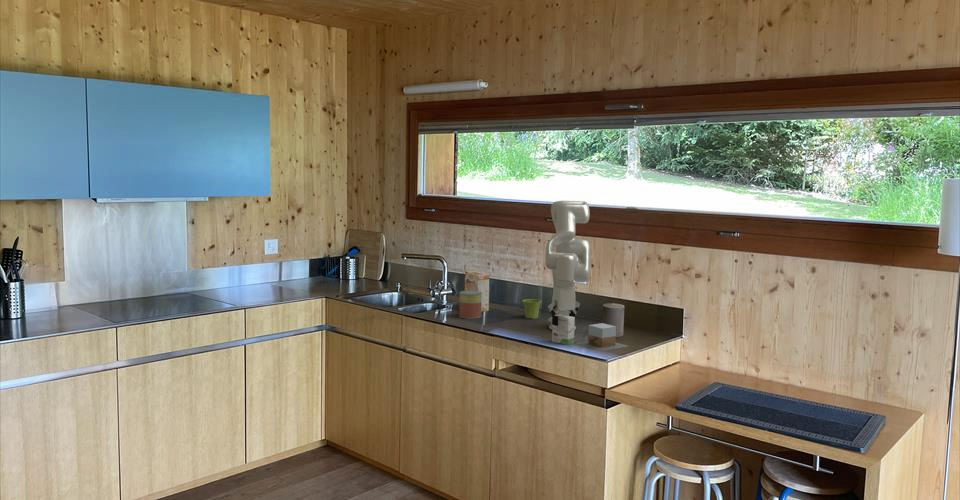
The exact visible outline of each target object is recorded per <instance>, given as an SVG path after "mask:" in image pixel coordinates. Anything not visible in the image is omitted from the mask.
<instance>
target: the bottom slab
mask: <svg viewBox="0 0 960 500" xmlns="http://www.w3.org/2000/svg"><path fill="white" fill-rule="evenodd" d="M587 337H588V339H587V341H588V344H591V345H594V346H598V347H601V348H603V347H609V346H614V345H615V343H617V341H616V339H617V337H616V336H612V337H607V338H600V337H596V336H592V335H589V334H588V336H587Z"/></svg>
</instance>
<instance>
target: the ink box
mask: <svg viewBox="0 0 960 500" xmlns="http://www.w3.org/2000/svg"><path fill="white" fill-rule="evenodd" d="M557 316H558V326H556V325H553V326H552V333H551V334H552V335H551V342H553V343H557V344H562V345H566V346H567V345H572V344H574V343H575V330H574V325H575V326H576V316H575V317H571V316H566V315H561V314H559V315H557Z"/></svg>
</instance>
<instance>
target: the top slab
mask: <svg viewBox="0 0 960 500" xmlns="http://www.w3.org/2000/svg"><path fill="white" fill-rule="evenodd" d="M588 335H592V336H596V337H600V338H607V337H612V336H616V326H612V325H608V324H604V323H602V322H601V323H600V322H599V323H594V324H588Z"/></svg>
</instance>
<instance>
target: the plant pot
mask: <svg viewBox="0 0 960 500" xmlns="http://www.w3.org/2000/svg"><path fill="white" fill-rule="evenodd" d="M522 302H523V307H524V318H526V319H528V320H529V319H532V320H534V319H538V318H539V313H540V305H541V303H542V300H541V299H532V298H528V299H527V298H526V299H522Z"/></svg>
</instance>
